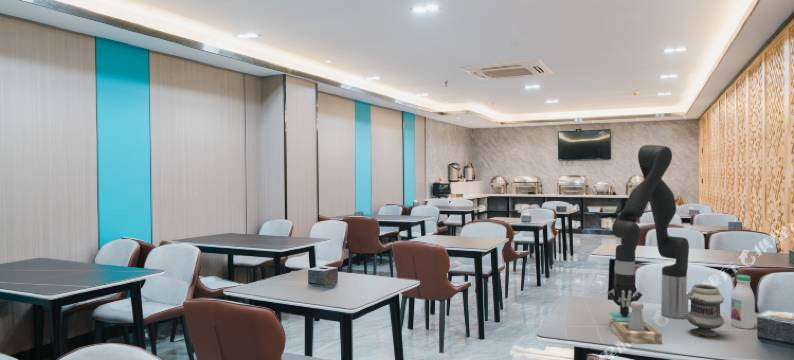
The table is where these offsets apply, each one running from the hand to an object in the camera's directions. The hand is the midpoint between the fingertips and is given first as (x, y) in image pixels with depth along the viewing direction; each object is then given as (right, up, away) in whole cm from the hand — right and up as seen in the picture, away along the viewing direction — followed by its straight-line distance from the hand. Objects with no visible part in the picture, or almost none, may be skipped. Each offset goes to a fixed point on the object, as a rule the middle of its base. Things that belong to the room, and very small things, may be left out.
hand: (624, 316), depth 203 cm
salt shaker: (-1, -5, -12) cm, 13 cm away
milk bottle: (+47, -5, +1) cm, 47 cm away
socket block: (-1, -4, -8) cm, 9 cm away
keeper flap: (0, -1, 0) cm, 1 cm away
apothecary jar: (+26, -5, -8) cm, 28 cm away
